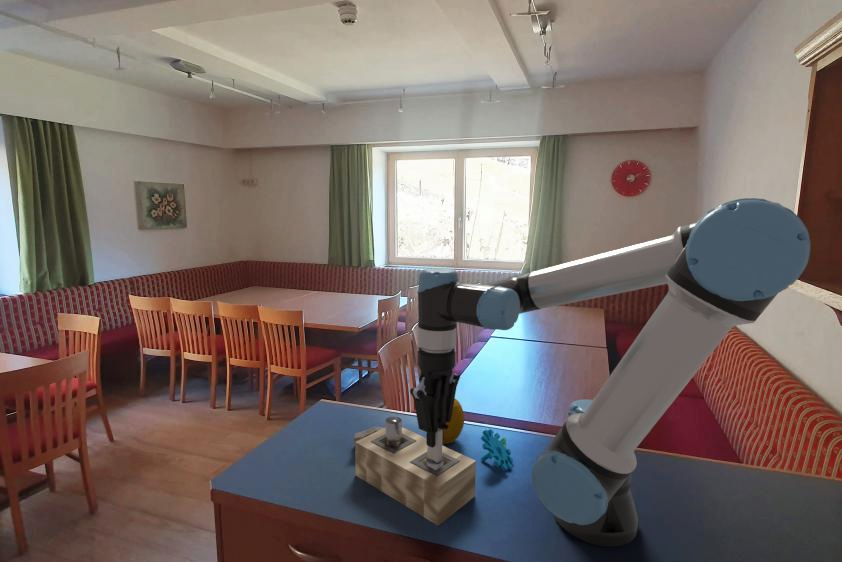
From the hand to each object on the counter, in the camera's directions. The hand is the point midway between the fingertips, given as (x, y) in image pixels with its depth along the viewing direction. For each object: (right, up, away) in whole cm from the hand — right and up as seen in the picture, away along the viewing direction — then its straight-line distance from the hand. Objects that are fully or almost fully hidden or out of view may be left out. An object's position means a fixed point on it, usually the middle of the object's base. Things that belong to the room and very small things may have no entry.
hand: (434, 458), depth 91 cm
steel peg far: (-9, -2, +8) cm, 12 cm away
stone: (-15, -6, +20) cm, 25 cm away
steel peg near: (0, -8, +1) cm, 8 cm away
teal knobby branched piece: (+15, -7, +14) cm, 22 cm away
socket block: (-5, -8, +5) cm, 11 cm away
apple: (+4, -5, +25) cm, 25 cm away
